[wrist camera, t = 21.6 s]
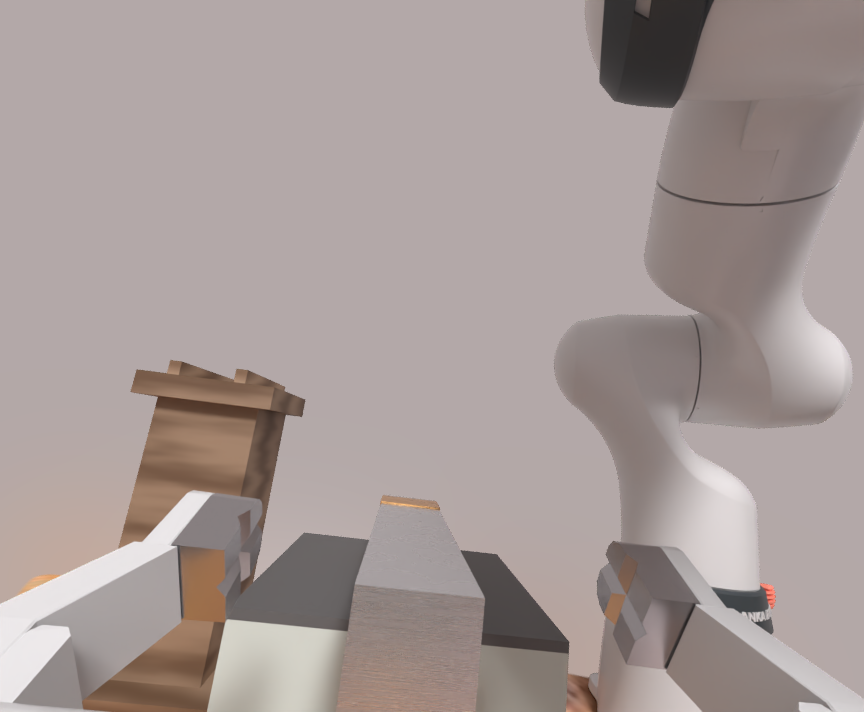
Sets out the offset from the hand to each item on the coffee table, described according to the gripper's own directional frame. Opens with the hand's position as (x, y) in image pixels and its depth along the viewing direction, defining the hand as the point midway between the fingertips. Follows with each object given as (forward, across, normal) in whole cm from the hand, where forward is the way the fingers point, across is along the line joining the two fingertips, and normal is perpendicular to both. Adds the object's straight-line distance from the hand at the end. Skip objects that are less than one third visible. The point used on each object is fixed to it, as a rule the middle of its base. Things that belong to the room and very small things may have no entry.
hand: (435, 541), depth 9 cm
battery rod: (+9, 0, +12) cm, 15 cm away
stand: (+18, +19, +34) cm, 43 cm away
